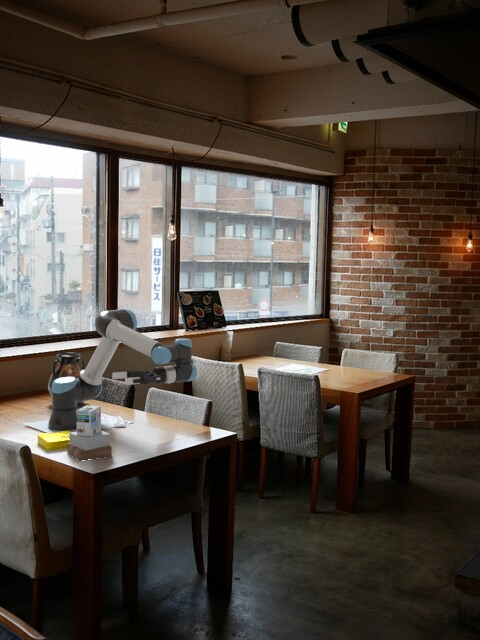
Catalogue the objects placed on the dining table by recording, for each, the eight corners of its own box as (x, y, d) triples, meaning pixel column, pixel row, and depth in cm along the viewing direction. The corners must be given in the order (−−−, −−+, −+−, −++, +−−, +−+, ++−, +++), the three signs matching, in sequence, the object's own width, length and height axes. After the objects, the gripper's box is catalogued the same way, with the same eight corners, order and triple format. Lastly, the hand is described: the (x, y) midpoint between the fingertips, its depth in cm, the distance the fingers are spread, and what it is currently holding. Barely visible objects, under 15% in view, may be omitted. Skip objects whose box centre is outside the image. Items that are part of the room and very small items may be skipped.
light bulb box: (91, 437, 298) (91, 411, 297) (75, 435, 299) (75, 410, 298) (101, 430, 308) (101, 405, 307) (86, 429, 310) (86, 404, 308)
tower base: (67, 454, 307) (67, 442, 306) (98, 449, 315) (98, 438, 314) (79, 463, 295) (79, 451, 295) (111, 458, 303) (111, 446, 303)
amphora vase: (76, 398, 413) (76, 350, 410) (95, 405, 397) (95, 355, 394) (41, 403, 399) (41, 353, 396) (59, 410, 383) (59, 358, 380)
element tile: (69, 439, 330) (69, 429, 329) (80, 447, 317) (80, 436, 317) (36, 443, 322) (36, 433, 321) (47, 452, 309) (47, 441, 309)
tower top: (69, 444, 304) (69, 432, 304) (93, 439, 313) (93, 428, 312) (85, 450, 296) (85, 438, 295) (109, 445, 304) (109, 433, 304)
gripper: (176, 388, 310) (130, 392, 299) (151, 378, 331) (107, 382, 320) (176, 371, 310) (131, 375, 298) (151, 362, 330) (107, 365, 319)
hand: (118, 378), depth 309 cm, fingers open, 13 cm apart
